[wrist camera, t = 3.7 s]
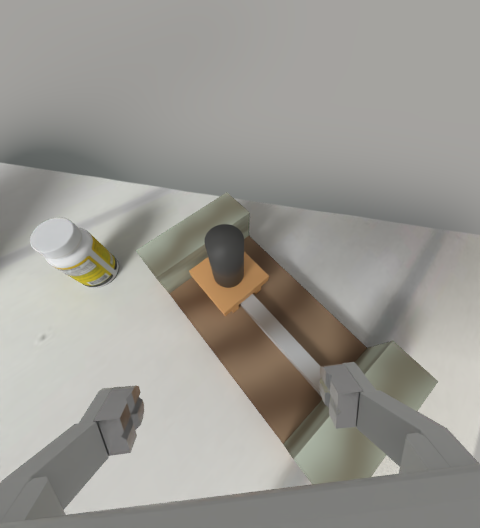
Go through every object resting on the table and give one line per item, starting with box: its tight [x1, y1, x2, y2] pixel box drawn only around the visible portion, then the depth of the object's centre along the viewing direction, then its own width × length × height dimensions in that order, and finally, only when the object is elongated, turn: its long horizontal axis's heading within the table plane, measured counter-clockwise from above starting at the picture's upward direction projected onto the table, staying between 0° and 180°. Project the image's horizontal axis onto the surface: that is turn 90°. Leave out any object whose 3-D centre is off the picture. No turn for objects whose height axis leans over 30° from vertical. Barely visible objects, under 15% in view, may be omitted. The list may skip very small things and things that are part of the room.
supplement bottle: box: [30, 217, 119, 288], centre depth 26 cm, size 5×5×8 cm
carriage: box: [189, 224, 269, 316], centre depth 23 cm, size 6×6×9 cm
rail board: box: [136, 193, 438, 484], centre depth 24 cm, size 26×12×6 cm, turn 41°
